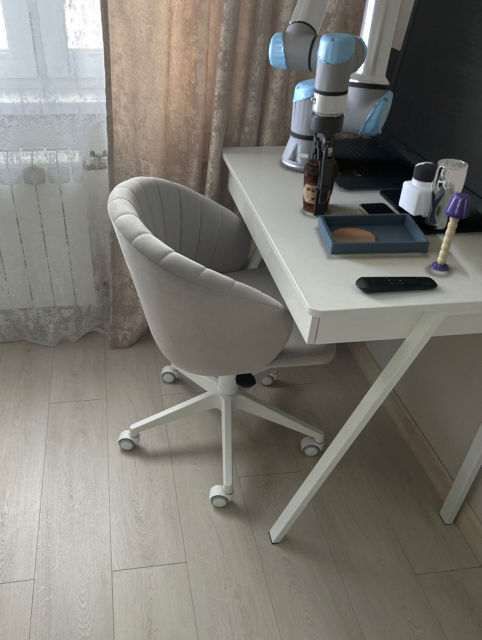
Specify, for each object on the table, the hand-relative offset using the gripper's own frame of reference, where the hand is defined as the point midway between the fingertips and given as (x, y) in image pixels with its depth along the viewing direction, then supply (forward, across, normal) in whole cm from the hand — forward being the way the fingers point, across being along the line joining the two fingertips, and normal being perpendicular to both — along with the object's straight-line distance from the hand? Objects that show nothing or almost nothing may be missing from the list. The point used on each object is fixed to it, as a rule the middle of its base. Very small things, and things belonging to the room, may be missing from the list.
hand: (315, 208), depth 144 cm
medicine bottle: (+1, +1, +26) cm, 26 cm away
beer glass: (+1, +9, +28) cm, 29 cm away
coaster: (0, +17, +6) cm, 18 cm away
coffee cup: (+1, 0, 0) cm, 1 cm away
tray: (+1, +17, +10) cm, 20 cm away
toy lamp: (+1, +31, +21) cm, 37 cm away
